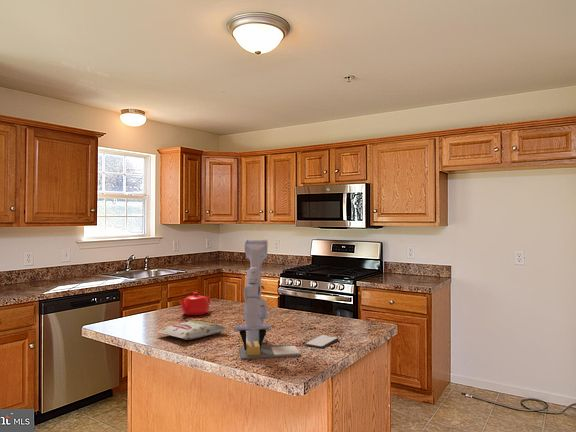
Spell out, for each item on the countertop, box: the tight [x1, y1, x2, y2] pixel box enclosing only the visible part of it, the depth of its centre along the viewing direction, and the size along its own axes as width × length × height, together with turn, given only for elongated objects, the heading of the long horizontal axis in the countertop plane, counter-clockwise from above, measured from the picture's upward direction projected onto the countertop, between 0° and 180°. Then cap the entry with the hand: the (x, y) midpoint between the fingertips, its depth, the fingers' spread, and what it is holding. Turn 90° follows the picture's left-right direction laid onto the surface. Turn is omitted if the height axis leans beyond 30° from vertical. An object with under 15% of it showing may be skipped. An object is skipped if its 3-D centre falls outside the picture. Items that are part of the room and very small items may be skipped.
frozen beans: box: [157, 320, 229, 341], centre depth 191 cm, size 21×6×25 cm
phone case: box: [304, 334, 339, 349], centre depth 181 cm, size 9×2×16 cm
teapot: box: [178, 291, 211, 316], centre depth 237 cm, size 25×16×12 cm, turn 149°
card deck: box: [246, 341, 260, 355], centre depth 165 cm, size 8×5×3 cm, turn 10°
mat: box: [238, 344, 302, 361], centre depth 166 cm, size 14×23×1 cm, turn 100°
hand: (252, 349), depth 165 cm, fingers closed on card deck, 5 cm apart
